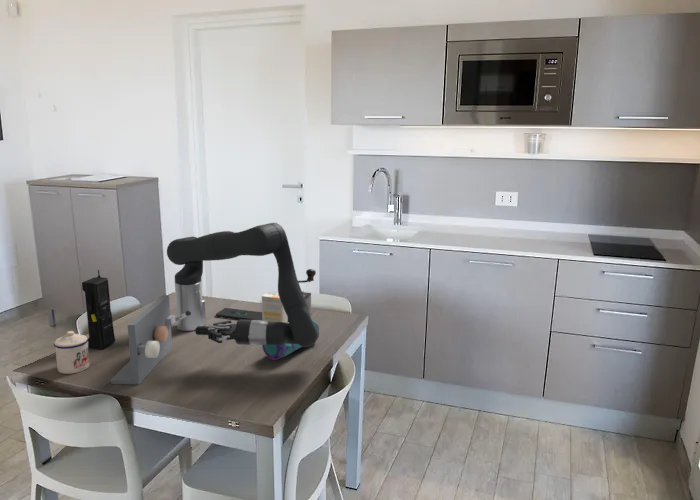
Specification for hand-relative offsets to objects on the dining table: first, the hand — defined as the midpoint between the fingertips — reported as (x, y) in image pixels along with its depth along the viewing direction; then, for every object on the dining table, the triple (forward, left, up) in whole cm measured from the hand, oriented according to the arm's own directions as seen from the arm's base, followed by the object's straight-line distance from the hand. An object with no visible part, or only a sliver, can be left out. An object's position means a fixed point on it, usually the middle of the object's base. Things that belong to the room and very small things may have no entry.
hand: (196, 330), depth 165 cm
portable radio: (+14, -36, -12) cm, 40 cm away
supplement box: (-36, -6, -12) cm, 39 cm away
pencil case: (-28, +12, -12) cm, 33 cm away
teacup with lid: (+26, -26, -12) cm, 38 cm away
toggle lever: (-4, -13, -1) cm, 14 cm away
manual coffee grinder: (-51, -10, -12) cm, 54 cm away
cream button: (+16, -1, -4) cm, 17 cm away
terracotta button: (+9, -10, -4) cm, 14 cm away
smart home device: (-37, -25, -12) cm, 46 cm away
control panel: (+10, -12, -11) cm, 20 cm away
